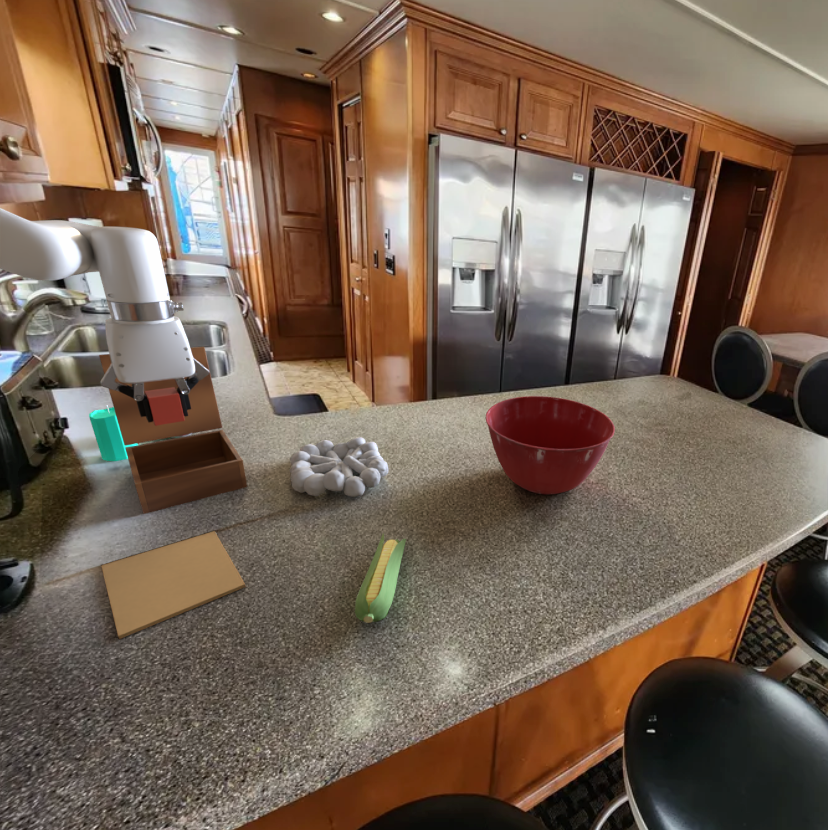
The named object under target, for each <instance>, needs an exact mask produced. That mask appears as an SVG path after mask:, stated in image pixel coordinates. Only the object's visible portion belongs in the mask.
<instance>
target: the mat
mask: <svg viewBox="0 0 828 830" xmlns="http://www.w3.org/2000/svg"><path fill="white" fill-rule="evenodd" d="M100 568H101V571H102V575H103V580H104V583H105V587H106V592H107V597H108V600H109V605H110V609H111V613H112V617H113V622H114V626H115V628H116V629H115V631H116V633H117V637H118V640H121V639H123V638H126V637H128V636H131V635H133V634H135V633H138V632H140V631H142V630H146V629H148V628H151V627H153V626H155V625H157V624H160V623H162V622H165V621H167V620H169V619H171V618H175V617H177V616H179V615H181V614H185V613H187V612H189V611H191V610H193V609H196V608H198V607H201V606H203V605H206V604H209V603H211V602H214V601H215V600H218V599H220V598H223V597H225V596H228V595H230V594H232V593H235V592H237V591H240V590H243V589H244V588H246V586H247V585H246V583H245V581H244V580H243V578H242V576H241V575H240V572H239V571H238V569H237V567H236V566H235V564H234V562H233V560H232V559H231V557H230V555H229V554H228V552H227V550H226V548H225V546H224V544H223V543H222V541H221V539H220V538H219V536H218V534H217V533H216V530H211V531H210V530H209V531H207V532H204V533H202V534H198V535H193V536H191V537H188V538H184V539H180V540H178V541H175V542H171V543H167V544H165V545H164V544H163V545H161V546H158V547H154V548H151V549H147V550H145V551H142V552H141V551H140V552H138V553H134V554H132V555H129V556H126V557H122V558H119V559H115V560H112V561H109V562H105V563H102V564H100Z"/></svg>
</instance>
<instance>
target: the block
mask: <svg viewBox="0 0 828 830" xmlns="http://www.w3.org/2000/svg"><path fill="white" fill-rule="evenodd" d="M145 395H146V397H147V399H148V401H149V405H150V408H151V412H152V416H153V420H154V421H153V422H154V424H155V426H157V425H163V424H169V423H175V422H181V421H185V419H184V415H183V410H182V406H181V401H180V397H179V394H178V392H177V391H176V389H175V388H174V387H173V388H165V389H157V390H150V391H145Z"/></svg>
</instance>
